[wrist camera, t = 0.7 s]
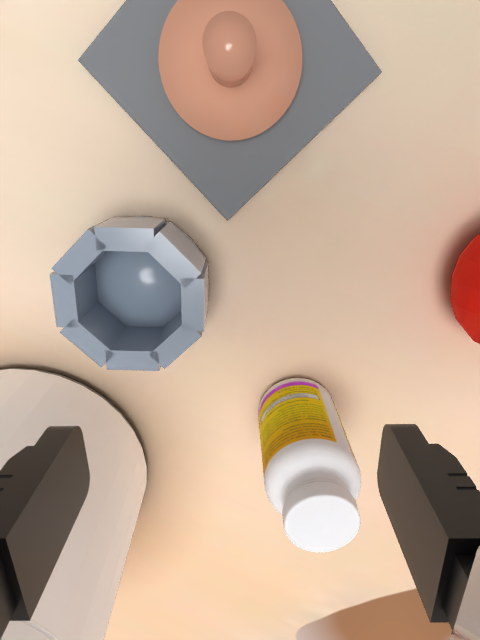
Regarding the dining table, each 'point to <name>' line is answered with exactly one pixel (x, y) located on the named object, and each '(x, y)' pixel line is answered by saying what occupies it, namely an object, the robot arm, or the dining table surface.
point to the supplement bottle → (309, 465)
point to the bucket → (99, 506)
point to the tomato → (467, 289)
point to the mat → (219, 155)
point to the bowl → (132, 293)
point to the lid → (230, 64)
